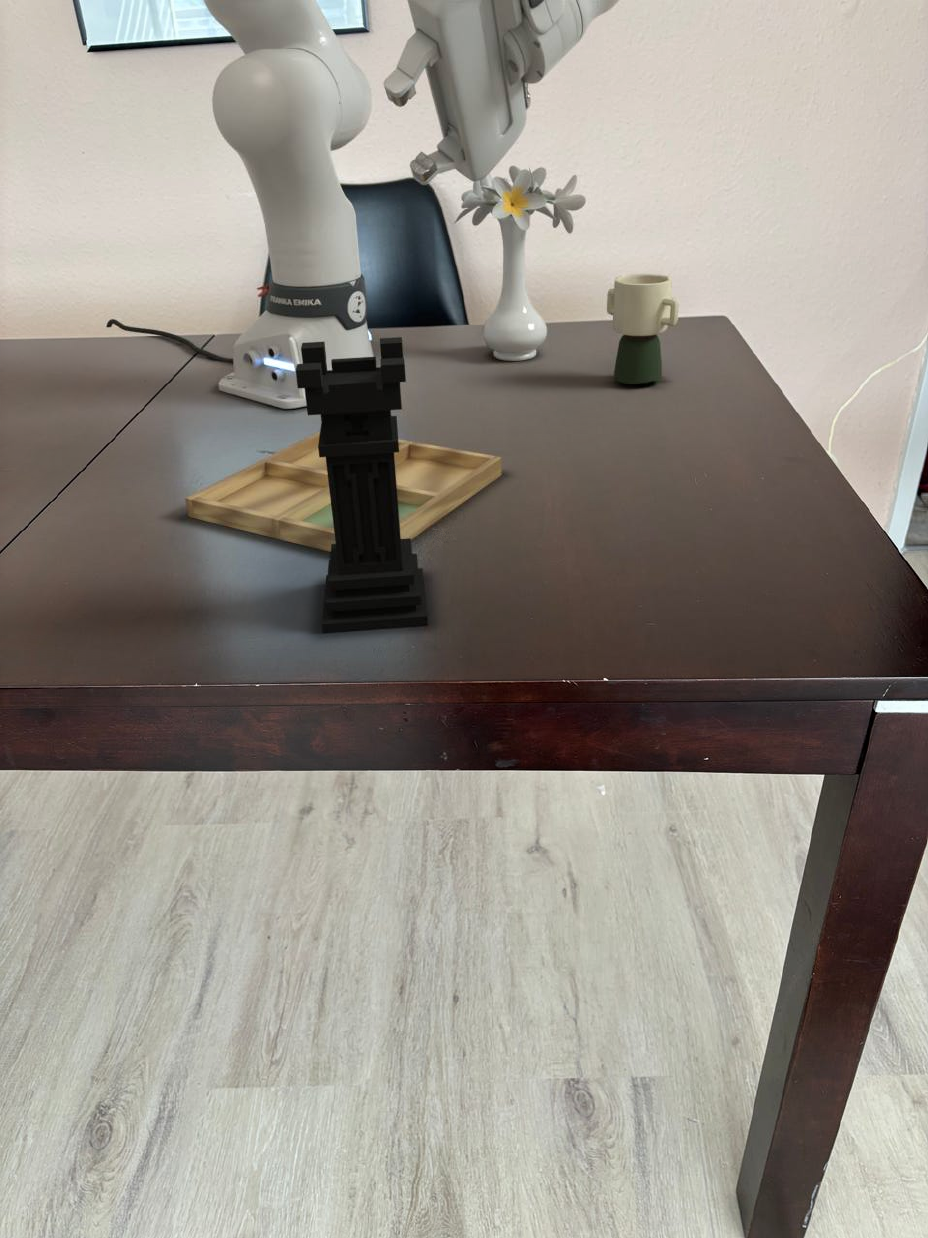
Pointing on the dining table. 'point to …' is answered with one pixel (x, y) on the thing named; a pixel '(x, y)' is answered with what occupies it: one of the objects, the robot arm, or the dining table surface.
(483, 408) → the dining table surface
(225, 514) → the grid
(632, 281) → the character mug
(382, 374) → the chess piece
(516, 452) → the dining table surface
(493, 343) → the flower vase
